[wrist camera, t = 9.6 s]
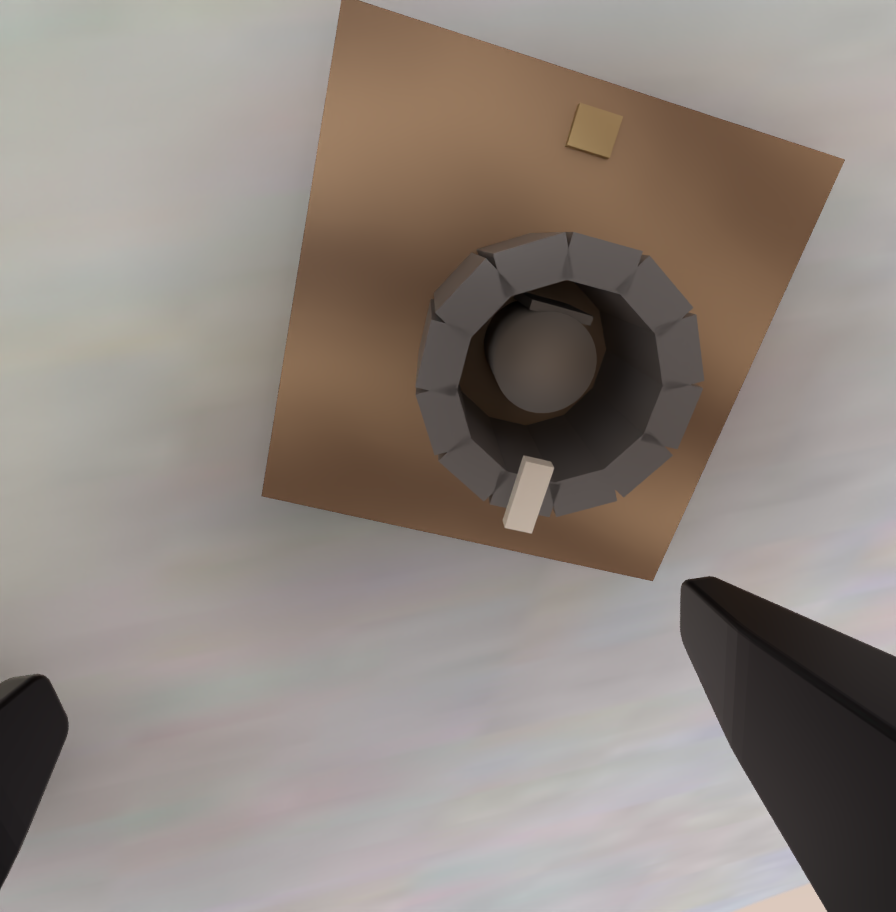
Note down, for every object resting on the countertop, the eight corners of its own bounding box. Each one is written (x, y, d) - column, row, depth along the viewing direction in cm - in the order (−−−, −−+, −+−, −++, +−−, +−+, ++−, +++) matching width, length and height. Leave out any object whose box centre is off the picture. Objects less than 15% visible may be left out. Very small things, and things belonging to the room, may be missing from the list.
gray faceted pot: (667, 269, 17) (758, 281, 12) (590, 479, 19) (640, 557, 14) (451, 209, 16) (460, 198, 11) (398, 435, 18) (388, 503, 14)
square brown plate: (643, 566, 21) (688, 635, 18) (269, 483, 20) (232, 541, 16) (821, 163, 17) (935, 142, 13) (348, 10, 15) (320, -66, 11)
